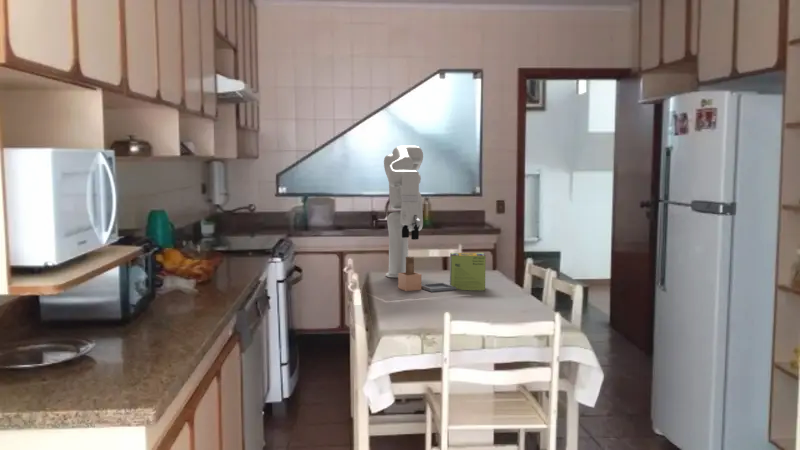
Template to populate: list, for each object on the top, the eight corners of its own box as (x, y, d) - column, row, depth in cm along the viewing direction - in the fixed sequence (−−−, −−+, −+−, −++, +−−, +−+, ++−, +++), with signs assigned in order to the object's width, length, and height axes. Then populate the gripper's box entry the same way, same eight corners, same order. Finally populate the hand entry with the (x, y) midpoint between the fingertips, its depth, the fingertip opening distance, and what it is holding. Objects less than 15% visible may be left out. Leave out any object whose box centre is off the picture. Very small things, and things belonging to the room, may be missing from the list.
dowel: (404, 288, 320) (404, 256, 319) (411, 287, 322) (411, 256, 320) (407, 289, 317) (407, 257, 316) (415, 289, 318) (415, 257, 317)
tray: (418, 289, 322) (418, 284, 322) (442, 287, 327) (442, 282, 327) (431, 293, 312) (431, 288, 311) (455, 291, 317) (455, 286, 316)
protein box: (485, 290, 320) (486, 255, 319) (450, 290, 321) (451, 255, 319) (483, 286, 331) (483, 252, 330) (449, 286, 331) (449, 252, 330)
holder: (398, 289, 321) (398, 272, 321) (413, 288, 324) (413, 271, 324) (405, 292, 314) (405, 275, 314) (421, 291, 318) (421, 274, 317)
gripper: (394, 198, 322) (394, 237, 323) (411, 200, 306) (410, 240, 308) (409, 198, 325) (409, 236, 326) (426, 199, 309) (426, 239, 311)
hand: (410, 238), depth 317 cm, fingers open, 9 cm apart
